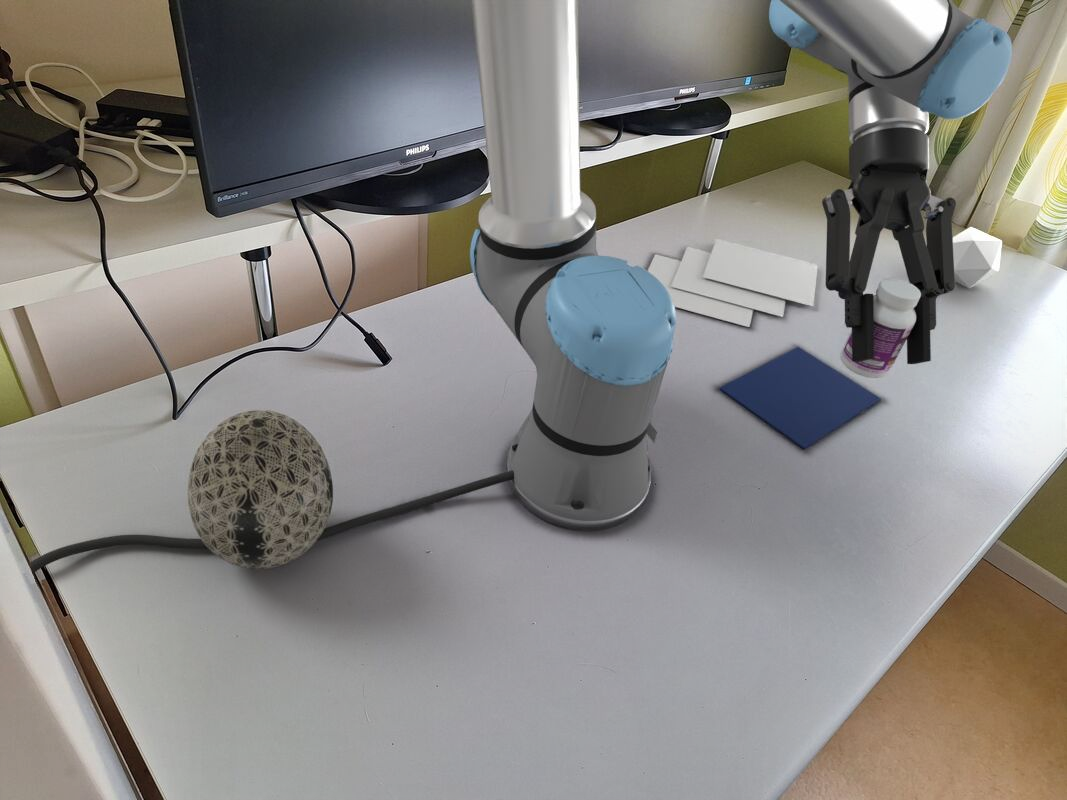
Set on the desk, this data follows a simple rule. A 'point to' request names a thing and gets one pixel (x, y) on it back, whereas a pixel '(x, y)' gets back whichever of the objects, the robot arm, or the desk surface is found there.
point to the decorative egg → (259, 490)
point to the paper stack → (735, 281)
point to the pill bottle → (886, 327)
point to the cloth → (800, 396)
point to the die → (975, 256)
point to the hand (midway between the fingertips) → (891, 360)
